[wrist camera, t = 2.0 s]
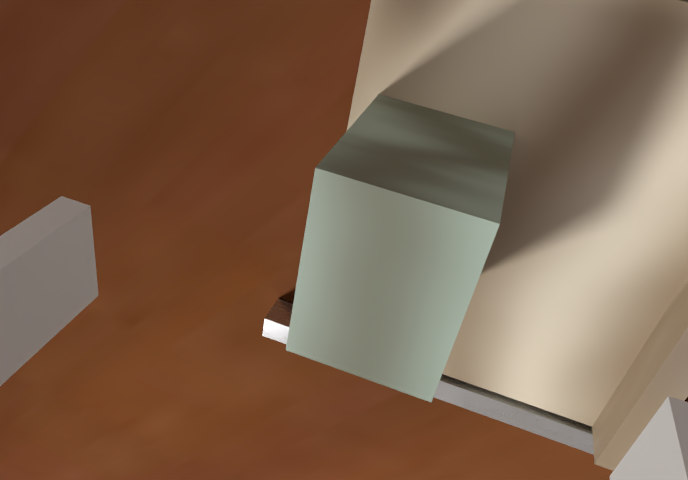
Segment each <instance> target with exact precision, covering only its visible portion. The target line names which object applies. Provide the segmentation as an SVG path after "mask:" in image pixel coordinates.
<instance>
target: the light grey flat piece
mask: <svg viewBox="0 0 688 480" xmlns="http://www.w3.org/2000/svg"><path fill="white" fill-rule="evenodd" d="M292 308H293V303H290V302H287V301H284V300H281V299H277V301H276V302H275V304H274V305H273V307H272V308H271V310H270V311H269V313H268V314H267V316H266V317H265V319H264V326H263V334H262V336H265V337H268V338H270V339H273V340H276V341H279V342H282V343H284V344H287V339H288V333H289V327H290V321H291V314H292ZM434 397H435V398H438V399H440V400H443V401H446V402H449V403H451V404H454V405H457V406H460V407H463V408H465V409H468V410H471V411H474V412H477V413H479V414H482V415H485V416H488V417H490V418H493V419H496V420H499V421H502V422H504V423H507V424H510V425H513V426H516V427H518V428H521V429H524V430H527V431H529V432H532V433H535V434H538V435H541V436H543V437H546V438H549V439H552V440H555V441H557V442H560V443H563V444H566V445H568V446H571V447H574V448H577V449H580V450H582V451H585V452H588V453H591V454H594V447H593V433H592V426H589V425H586V424H583V423H580V422H578V421H575V420H572V419H569V418H566V417H563V416H560V415H558V414H555V413H552V412H549V411H546V410H543V409H541V408H538V407H535V406H532V405H529V404H526V403H523V402H521V401H518V400H515V399H512V398H509V397H506V396H504V395H501V394H498V393H495V392H492V391H489V390H487V389H484V388H481V387H478V386H475V385H472V384H469V383H467V382H464V381H461V380H458V379H455V378H452V377H450V376H447V375H444V374H442V376H441V378H440V381H439V384H438V386H437V389H436V391H435V394H434Z"/></svg>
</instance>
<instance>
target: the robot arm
mask: <svg viewBox="0 0 688 480" xmlns="http://www.w3.org/2000/svg"><path fill="white" fill-rule="evenodd" d="M97 296H98V286H97V275H96V264H95V253H94V242H93V231H92V220H91V209H90V206H89V205H86V204H83V203H80V202H77V201H74V200H71V199H68V198H65V197H62V196H61V197H60V198H58V199H57V200H55V201H54V202H52V203H50V204H49V205H47V206H46V207H44V208H43V209H41V210H40V211H38V212H37V213H35V214H34V215H32V216H30V217H29V218H27V219H26V220H24V221H23V222H21V223H20V224H18V225H17V226H15V227H14V228H12V229H11V230H9V231H7V232H6V233H4V234H3V235H1V236H0V386H1V385H2V384H3V383H4V382H5V381H6V380H7V379H8V378H10V377H11V376H12V375H13V374H14V373H15V372H16V371H17V370H18V369H19V368H20V367H21V366H22V365H24V364H25V363H26V362H27V361H28V360H29V359H30V358H31V357H32V356H33V355H34V354H35V353H37V352H38V351H39V350H40V349H41V348H42V347H43V346H44V345H45V344H46V343H47V342H48V341H50V340H51V339H52V338H53V337H54V336H55V335H56V334H57V333H58V332H59V331H60V330H61V329H63V328H64V327H65V326H66V325H67V324H68V323H69V322H70V321H71V320H72V319H73V318H74V317H75V316H77V315H78V314H79V313H80V312H81V311H82V310H83V309H84V308H85V307H86V306H87V305H88V304H90V303H91V302H92V301H93V300H94V299H95V298H96V297H97ZM610 480H688V402H685V401H682V400H679V399H676V398H673V397H670V396H668V397H667V398H666V400H665V401H664V403H663V404H662V405H661V407H660V408H659V409H658V411H657V412H656V413H655V415H654V416H653V418H652V419H651V420H650V422H649V423H648V424H647V426H646V427H645V429H644V430H643V431H642V433H641V434H640V435H639V437H638V438H637V440H636V441H635V442H634V444H633V445H632V446H631V448H630V449H629V450H628V452H627V453H626V455H625V456H624V457H623V459H622V460H621V461H620V463H619V464H618V466H617V467H616V468H615V470H614V471H613V472H612V474H611V475H610Z"/></svg>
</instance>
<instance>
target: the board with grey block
mask: <svg viewBox="0 0 688 480" xmlns="http://www.w3.org/2000/svg"><path fill="white" fill-rule="evenodd" d="M286 350H287V351H290V352H293V353H296V354H298V355H301V356H304V357H307V358H309V359H312V360H315V361H318V362H321V363H323V364H326V365H329V366H332V367H334V368H337V369H340V370H343V371H345V372H348V373H351V374H354V375H357V376H359V377H362V378H365V379H368V380H370V381H373V382H376V383H379V384H382V385H384V386H387V387H390V388H393V389H395V390H398V391H401V392H404V393H406V394H409V395H412V396H415V397H418V398H420V399H423V400H426V401H429V402H432V399H433V397H434V394H435V391H436V389H437V386H438V384H439V381H440V378H441V376H442V374H444V375H447V376H450V377H452V378H455V379H458V380H461V381H464V382H467V383H469V384H472V385H475V386H478V387H481V388H484V389H487V390H489V391H492V392H495V393H498V394H501V395H504V396H506V397H509V398H512V399H515V400H518V401H521V402H523V403H526V404H529V405H532V406H535V407H538V408H541V409H543V410H546V411H549V412H552V413H555V414H558V415H560V416H563V417H566V418H569V419H572V420H575V421H578V422H580V423H583V424H586V425H589V426H592V433H593V447H594V461H595V464H596V465H599V466H602V467H604V468H607V469H610V470H613V471H614V470H615V468H616V467H617V466H618V464H619V463H620V461H621V460H622V459H623V457H624V456H625V455H626V453H627V452H628V450H629V449H630V448H631V446H632V445H633V444H634V442H635V441H636V440H637V438H638V437H639V435H640V434H641V433H642V431H643V430H644V429H645V427H646V426H647V424H648V423H649V422H650V420H651V419H652V418H653V416H654V415H655V413H656V412H657V411H658V409H659V408H660V407H661V405H662V404H663V403H664V401H665V400H666V398H667V397H668V396H670V397H673V398H676V399H679V400H682V401H685V400H686V398H687V397H688V0H371V6H370V11H369V16H368V22H367V27H366V32H365V37H364V43H363V48H362V53H361V58H360V64H359V69H358V74H357V80H356V85H355V90H354V95H353V101H352V106H351V111H350V117H349V122H348V127H347V132H346V133H345V134H344V135H343V136H342V137H341V139H340V140H339V141H338V142H337V143H336V144H335V146H334V147H333V148H332V149H331V150H330V151H329V153H328V154H327V155H326V156H325V157H324V158H323V160H322V161H321V162H320V163H319V164H318V165H317V167H316V168H315V174H314V180H313V186H312V192H311V198H310V204H309V210H308V216H307V223H306V229H305V235H304V241H303V247H302V253H301V259H300V265H299V272H298V278H297V284H296V290H295V296H294V302H293V308H292V314H291V321H290V327H289V333H288V339H287V345H286Z"/></svg>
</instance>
